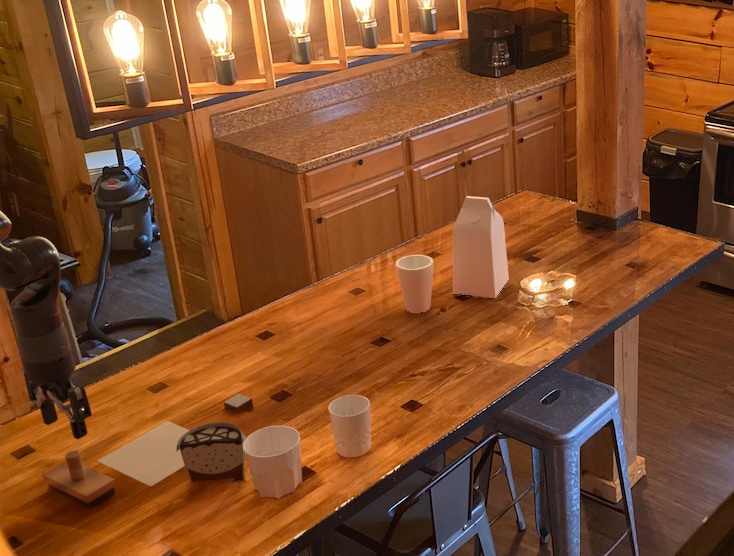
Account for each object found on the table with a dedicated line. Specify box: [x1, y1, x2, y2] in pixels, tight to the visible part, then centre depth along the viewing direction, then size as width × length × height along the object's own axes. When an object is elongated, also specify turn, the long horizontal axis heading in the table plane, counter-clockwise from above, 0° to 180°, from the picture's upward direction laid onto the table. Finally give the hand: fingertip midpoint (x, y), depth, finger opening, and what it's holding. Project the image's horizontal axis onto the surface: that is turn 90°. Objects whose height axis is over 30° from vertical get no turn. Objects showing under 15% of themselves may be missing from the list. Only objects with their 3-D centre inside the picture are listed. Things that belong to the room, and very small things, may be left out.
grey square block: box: [223, 393, 254, 415], centre depth 201 cm, size 4×4×2 cm
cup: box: [242, 425, 303, 500], centre depth 176 cm, size 10×10×10 cm
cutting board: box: [96, 420, 191, 487], centre depth 186 cm, size 16×16×1 cm
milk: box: [452, 195, 510, 299], centre depth 252 cm, size 12×12×26 cm
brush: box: [42, 450, 117, 509], centre depth 174 cm, size 13×6×9 cm, turn 61°
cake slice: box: [176, 421, 247, 484], centre depth 179 cm, size 12×6×10 cm, turn 100°
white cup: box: [327, 394, 372, 459], centre depth 187 cm, size 8×8×10 cm
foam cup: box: [395, 254, 435, 314], centre depth 244 cm, size 10×9×13 cm
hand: (66, 429), depth 170 cm, fingers open, 8 cm apart
